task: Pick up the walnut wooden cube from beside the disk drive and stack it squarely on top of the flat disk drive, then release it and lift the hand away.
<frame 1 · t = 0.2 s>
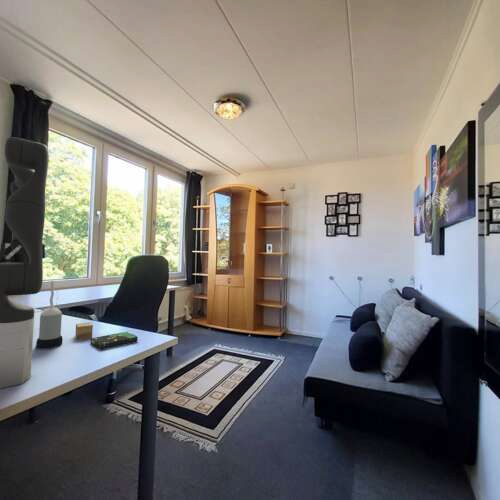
hand: (22, 268, 110), 29 cm above the table, tool pointing down, fingers open, 8 cm apart
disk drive: (114, 344, 109), on the table
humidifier: (49, 345, 103), on the table
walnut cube: (83, 337, 114), on the table
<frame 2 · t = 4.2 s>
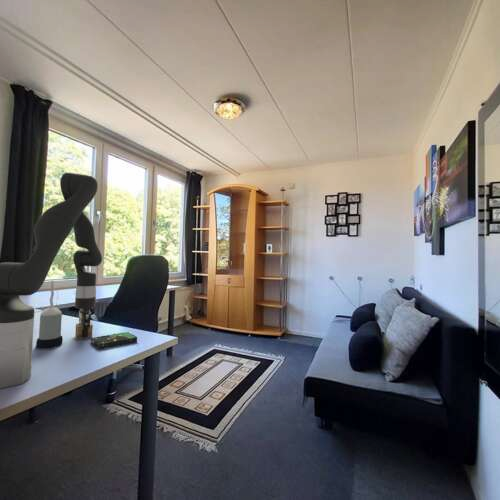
hand: (83, 335, 114), 1 cm above the table, tool pointing down, fingers closed on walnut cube, 5 cm apart
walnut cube: (83, 337, 114), on the table, touching gripper
everything else where it was.
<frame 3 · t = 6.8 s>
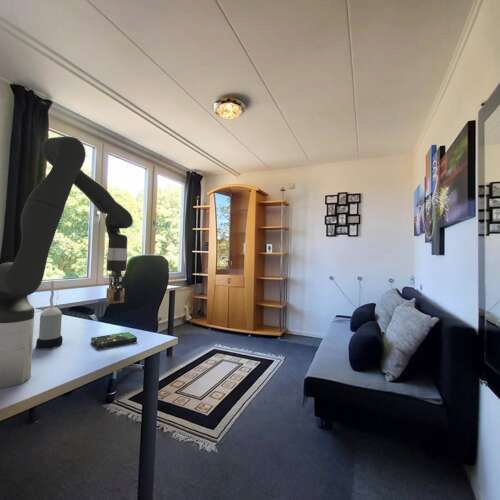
hand: (115, 299, 109), 17 cm above the table, tool pointing down, fingers closed on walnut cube, 5 cm apart
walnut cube: (115, 301, 109), point 17 cm above the table, touching gripper
everything else where it was.
when the fingers open (5 cm above the table, at t = 9.4 s): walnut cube drops 2 cm, resting on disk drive.
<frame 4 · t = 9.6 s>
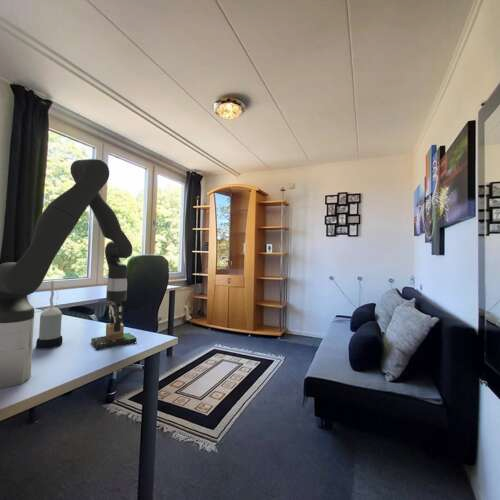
hand: (114, 329, 109), 5 cm above the table, tool pointing down, fingers open, 7 cm apart
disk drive: (113, 345, 108), on the table, touching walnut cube
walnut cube: (114, 337, 109), point 2 cm above the table, touching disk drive
everything else where it was.
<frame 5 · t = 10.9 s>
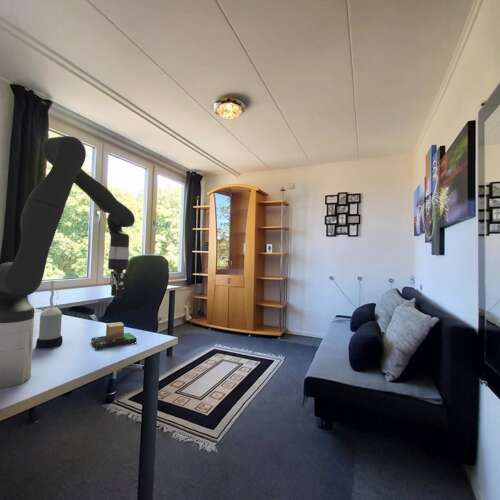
hand: (116, 297, 109), 19 cm above the table, tool pointing down, fingers open, 8 cm apart
nothing on the table moved.
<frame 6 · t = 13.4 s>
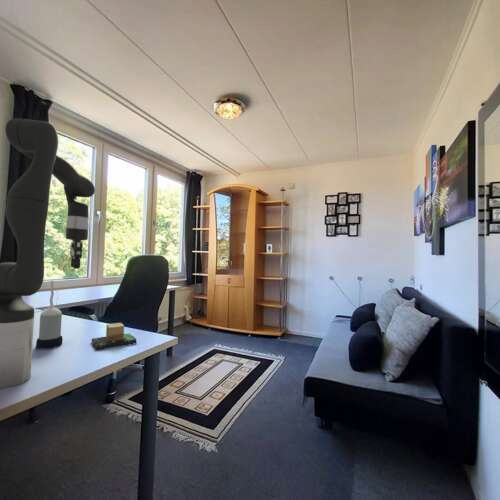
hand: (75, 267, 108), 30 cm above the table, tool pointing down, fingers open, 8 cm apart
nothing on the table moved.
at the end: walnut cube inside the target area on the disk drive (0.4 cm from its centre), point 2.8 cm above the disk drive's base; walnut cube tilted 0°; the gripper is holding nothing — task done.
